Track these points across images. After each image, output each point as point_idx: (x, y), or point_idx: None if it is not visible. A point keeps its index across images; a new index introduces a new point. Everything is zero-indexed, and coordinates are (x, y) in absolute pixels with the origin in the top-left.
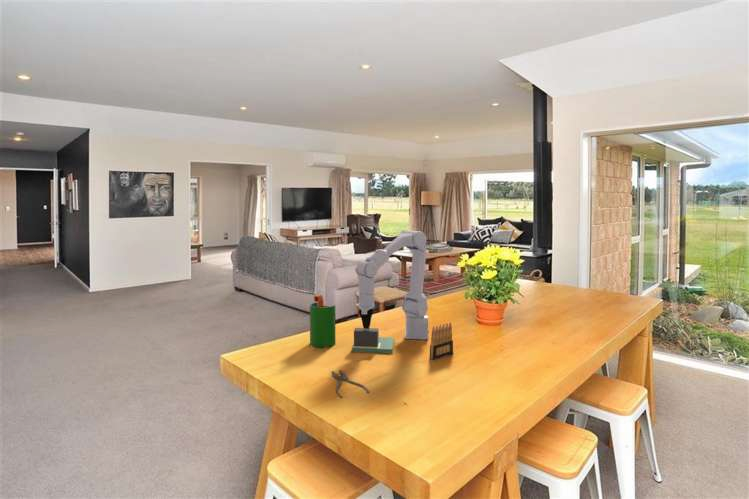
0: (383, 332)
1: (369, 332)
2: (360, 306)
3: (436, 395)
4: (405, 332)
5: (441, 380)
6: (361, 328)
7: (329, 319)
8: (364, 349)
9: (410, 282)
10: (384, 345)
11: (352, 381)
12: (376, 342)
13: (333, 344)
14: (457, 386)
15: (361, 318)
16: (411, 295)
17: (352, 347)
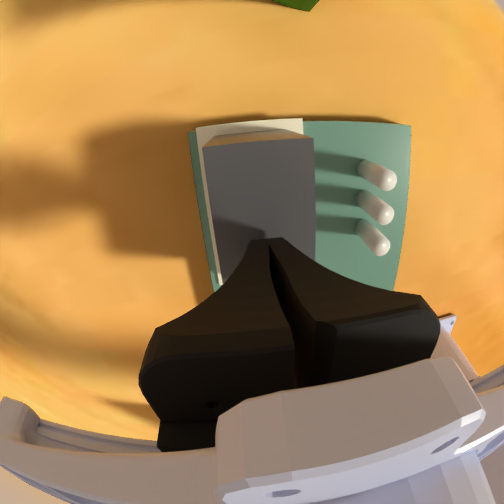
0: (479, 237)
1: (222, 281)
2: (81, 496)
3: (32, 391)
4: (452, 318)
5: (87, 410)
6: (296, 203)
7: None
8: (198, 205)
9: None
10: None
11: None
12: None
13: (284, 2)
14: (82, 421)
15: (215, 292)
16: (485, 467)
17: (196, 131)
